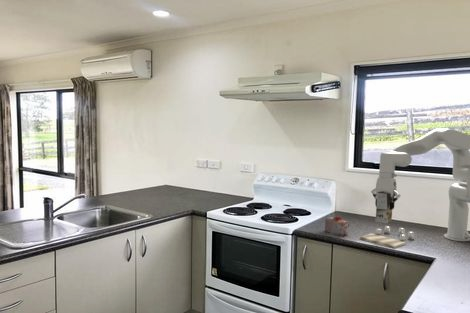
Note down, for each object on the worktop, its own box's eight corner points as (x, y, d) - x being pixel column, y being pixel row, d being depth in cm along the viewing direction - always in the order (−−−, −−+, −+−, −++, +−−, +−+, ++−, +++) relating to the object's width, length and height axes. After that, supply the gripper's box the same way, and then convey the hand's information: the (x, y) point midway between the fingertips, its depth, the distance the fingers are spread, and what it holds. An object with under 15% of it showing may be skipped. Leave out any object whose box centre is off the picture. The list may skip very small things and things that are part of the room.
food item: (350, 235, 221) (351, 218, 221) (342, 237, 216) (343, 220, 215) (330, 229, 232) (331, 213, 231) (322, 231, 227) (323, 215, 226)
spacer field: (417, 238, 219) (417, 231, 219) (403, 243, 209) (404, 236, 208) (389, 231, 232) (389, 224, 232) (374, 235, 222) (375, 228, 221)
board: (405, 244, 207) (405, 242, 207) (394, 248, 199) (394, 246, 199) (371, 235, 222) (371, 233, 222) (359, 238, 214) (360, 236, 214)
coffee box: (387, 223, 204) (389, 193, 203) (375, 221, 208) (376, 192, 206) (391, 220, 212) (393, 191, 210) (379, 218, 215) (381, 190, 214)
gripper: (405, 176, 203) (403, 210, 205) (375, 173, 217) (373, 204, 218) (398, 177, 198) (396, 211, 200) (368, 173, 212) (366, 205, 213)
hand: (384, 207), depth 209 cm, fingers closed on coffee box, 7 cm apart
